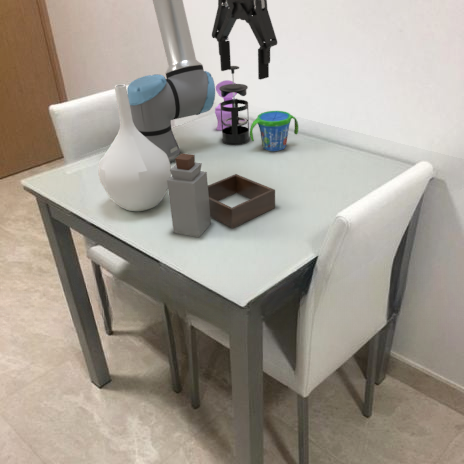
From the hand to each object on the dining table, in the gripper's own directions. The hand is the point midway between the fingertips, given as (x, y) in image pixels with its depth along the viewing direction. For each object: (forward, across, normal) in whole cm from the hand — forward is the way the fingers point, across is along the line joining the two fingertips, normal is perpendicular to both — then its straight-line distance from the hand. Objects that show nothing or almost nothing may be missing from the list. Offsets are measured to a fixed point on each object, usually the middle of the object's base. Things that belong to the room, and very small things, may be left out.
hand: (244, 74), depth 124 cm
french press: (+29, +28, -21) cm, 45 cm away
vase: (+29, +12, +28) cm, 42 cm away
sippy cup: (+29, +13, -24) cm, 40 cm away
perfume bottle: (+29, -9, +27) cm, 41 cm away
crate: (+29, -9, +13) cm, 33 cm away
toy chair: (+29, +40, -28) cm, 57 cm away
